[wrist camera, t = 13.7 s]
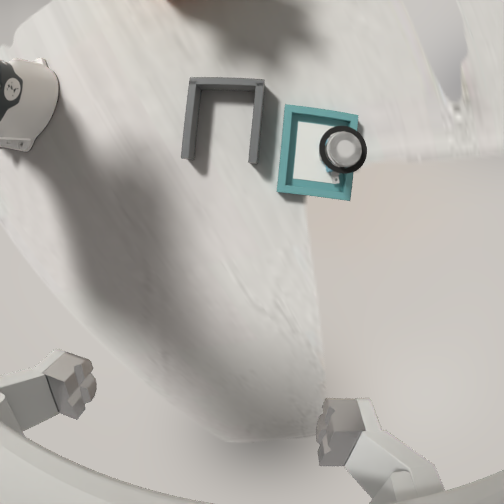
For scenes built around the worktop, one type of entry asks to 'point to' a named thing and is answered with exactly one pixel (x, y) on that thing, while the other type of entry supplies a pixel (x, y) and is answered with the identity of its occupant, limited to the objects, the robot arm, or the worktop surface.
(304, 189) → the teal picture frame
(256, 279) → the worktop surface
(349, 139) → the push button
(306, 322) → the worktop surface
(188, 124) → the grey u-shaped bracket
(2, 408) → the robot arm
